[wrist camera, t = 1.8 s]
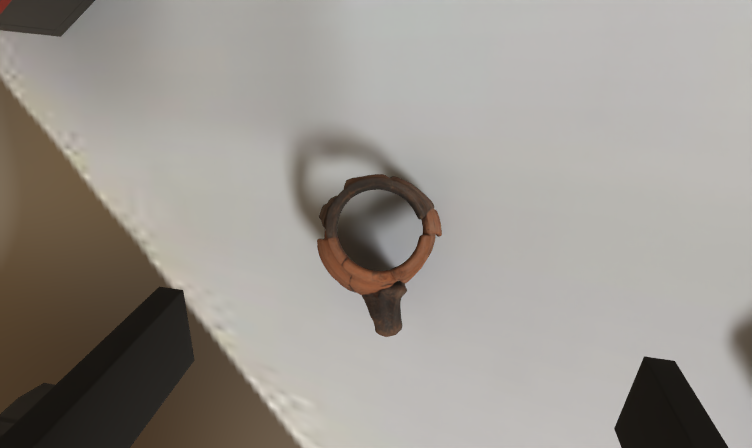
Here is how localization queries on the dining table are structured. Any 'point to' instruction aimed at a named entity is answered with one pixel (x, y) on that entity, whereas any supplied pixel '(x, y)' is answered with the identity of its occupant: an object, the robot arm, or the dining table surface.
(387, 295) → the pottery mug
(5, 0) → the lid
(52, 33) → the dark gray box
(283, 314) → the dining table surface
